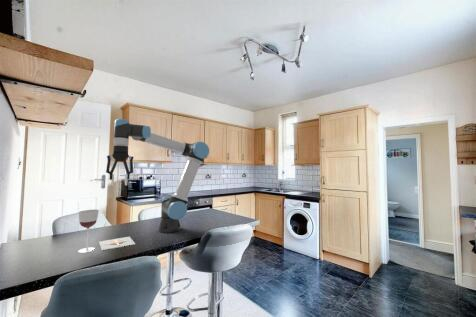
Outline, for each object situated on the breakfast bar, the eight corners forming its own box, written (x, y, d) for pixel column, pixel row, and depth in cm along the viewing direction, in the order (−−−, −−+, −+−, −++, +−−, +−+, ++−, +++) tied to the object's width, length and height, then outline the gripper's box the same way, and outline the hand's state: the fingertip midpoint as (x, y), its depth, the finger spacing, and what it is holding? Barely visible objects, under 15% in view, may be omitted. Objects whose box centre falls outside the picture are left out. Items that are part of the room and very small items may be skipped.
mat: (129, 237, 132) (129, 236, 132) (135, 244, 119) (135, 243, 119) (98, 242, 122) (98, 241, 122) (101, 250, 109) (101, 249, 109)
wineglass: (72, 251, 108) (74, 212, 109) (89, 246, 116) (91, 209, 117) (84, 253, 105) (86, 213, 106) (100, 247, 113) (102, 210, 115)
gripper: (137, 147, 133) (135, 184, 131) (100, 145, 121) (99, 185, 120) (140, 146, 127) (138, 185, 125) (102, 143, 115) (100, 186, 114)
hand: (119, 185), depth 123 cm, fingers open, 6 cm apart
